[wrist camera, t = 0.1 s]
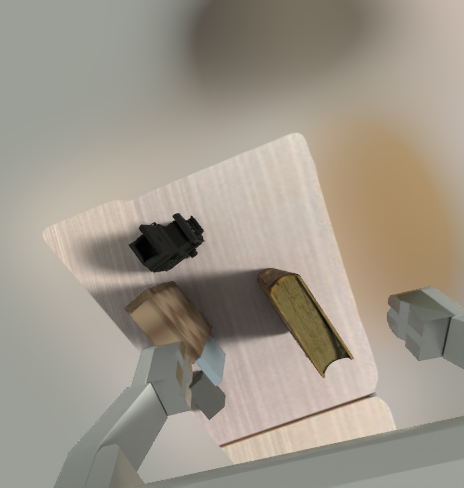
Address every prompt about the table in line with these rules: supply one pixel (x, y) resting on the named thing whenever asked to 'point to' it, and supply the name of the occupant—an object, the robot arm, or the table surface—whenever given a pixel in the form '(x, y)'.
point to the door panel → (212, 361)
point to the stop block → (207, 395)
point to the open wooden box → (170, 319)
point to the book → (303, 317)
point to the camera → (167, 243)
